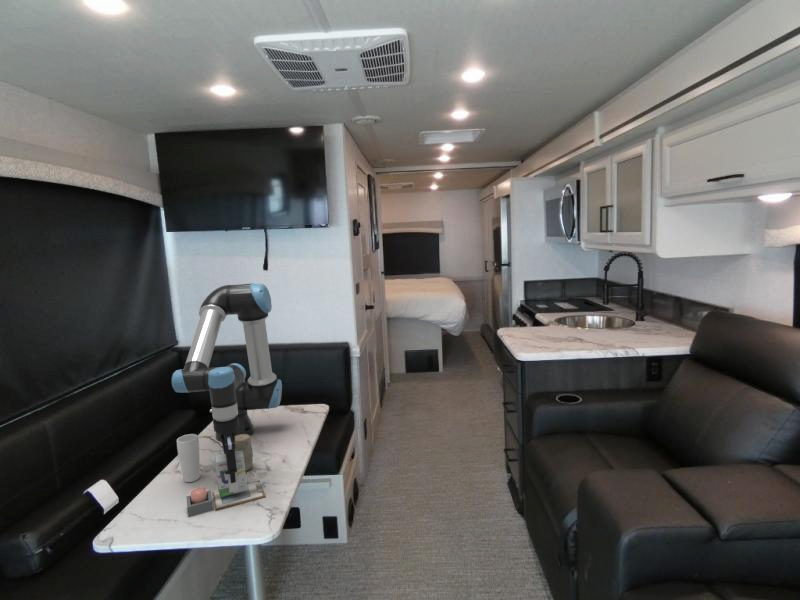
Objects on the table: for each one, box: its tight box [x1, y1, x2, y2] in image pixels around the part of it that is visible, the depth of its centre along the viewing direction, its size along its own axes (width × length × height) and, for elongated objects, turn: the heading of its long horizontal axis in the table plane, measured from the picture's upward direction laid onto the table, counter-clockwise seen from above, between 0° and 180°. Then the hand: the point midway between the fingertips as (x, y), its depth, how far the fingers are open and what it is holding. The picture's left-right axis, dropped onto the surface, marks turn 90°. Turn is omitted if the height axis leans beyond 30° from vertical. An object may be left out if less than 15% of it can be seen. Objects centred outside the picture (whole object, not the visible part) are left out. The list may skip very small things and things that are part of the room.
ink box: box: [214, 451, 248, 497], centre depth 149 cm, size 9×5×12 cm, turn 114°
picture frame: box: [211, 479, 267, 512], centre depth 150 cm, size 11×15×1 cm
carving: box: [235, 434, 254, 471], centre depth 167 cm, size 6×8×12 cm
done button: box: [190, 486, 207, 505], centre depth 144 cm, size 4×4×4 cm
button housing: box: [186, 490, 214, 518], centre depth 144 cm, size 7×7×3 cm
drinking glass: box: [176, 433, 201, 483], centre depth 161 cm, size 7×7×15 cm
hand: (232, 486), depth 150 cm, fingers closed on ink box, 5 cm apart
